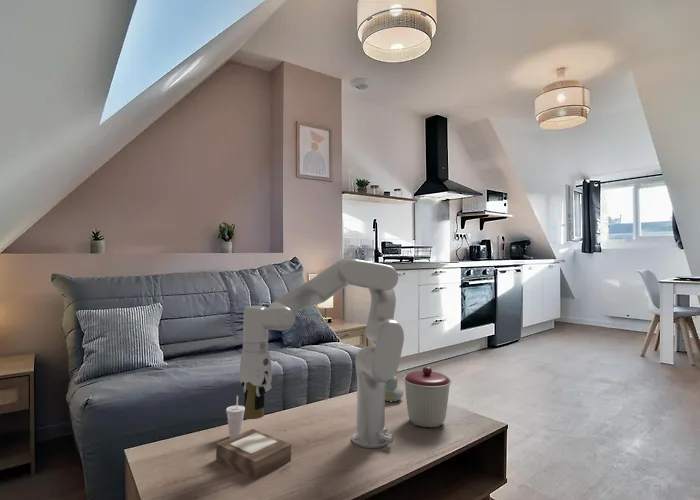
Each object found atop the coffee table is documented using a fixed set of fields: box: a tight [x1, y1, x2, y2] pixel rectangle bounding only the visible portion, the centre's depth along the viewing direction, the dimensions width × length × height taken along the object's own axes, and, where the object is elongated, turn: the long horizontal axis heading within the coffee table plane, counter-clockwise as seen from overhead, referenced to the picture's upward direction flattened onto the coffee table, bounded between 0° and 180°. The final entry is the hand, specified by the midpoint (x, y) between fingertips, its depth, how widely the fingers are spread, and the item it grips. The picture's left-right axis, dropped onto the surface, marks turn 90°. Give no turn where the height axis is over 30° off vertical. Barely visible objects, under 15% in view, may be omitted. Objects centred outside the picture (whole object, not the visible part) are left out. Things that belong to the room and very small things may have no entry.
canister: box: [402, 366, 452, 429], centre depth 159 cm, size 18×18×21 cm
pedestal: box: [215, 428, 292, 481], centre depth 128 cm, size 18×14×5 cm
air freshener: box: [385, 375, 404, 402], centre depth 184 cm, size 11×8×10 cm
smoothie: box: [225, 395, 245, 438], centre depth 144 cm, size 6×6×14 cm
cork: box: [243, 382, 265, 420], centre depth 128 cm, size 6×6×11 cm
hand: (254, 406), depth 128 cm, fingers closed on cork, 4 cm apart
